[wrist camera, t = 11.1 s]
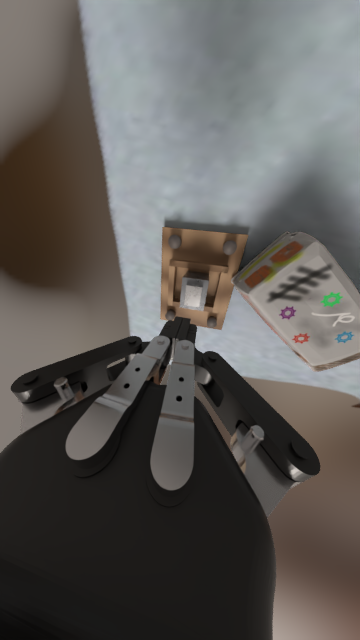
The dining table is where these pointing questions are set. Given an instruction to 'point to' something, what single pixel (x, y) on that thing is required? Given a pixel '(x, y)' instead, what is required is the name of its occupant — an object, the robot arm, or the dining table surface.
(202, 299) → the block
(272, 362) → the dining table surface
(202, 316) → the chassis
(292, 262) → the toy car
